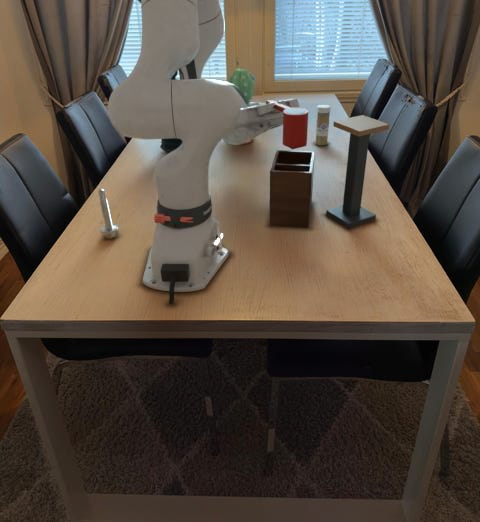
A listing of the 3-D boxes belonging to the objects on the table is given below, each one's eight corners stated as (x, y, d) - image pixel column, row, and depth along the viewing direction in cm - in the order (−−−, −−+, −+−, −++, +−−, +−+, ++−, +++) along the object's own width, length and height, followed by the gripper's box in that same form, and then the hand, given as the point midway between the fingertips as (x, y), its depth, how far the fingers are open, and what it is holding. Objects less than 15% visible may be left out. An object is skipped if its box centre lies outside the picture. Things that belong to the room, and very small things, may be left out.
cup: (311, 146, 117) (313, 111, 112) (291, 151, 115) (292, 116, 110) (277, 130, 128) (278, 97, 123) (259, 134, 125) (258, 101, 121)
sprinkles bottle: (318, 146, 168) (320, 108, 161) (312, 142, 172) (315, 104, 164) (329, 144, 169) (332, 106, 162) (324, 140, 173) (327, 103, 165)
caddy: (308, 228, 119) (312, 173, 111) (269, 225, 121) (269, 171, 113) (311, 203, 131) (314, 151, 123) (275, 201, 133) (276, 150, 124)
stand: (375, 219, 122) (389, 124, 108) (348, 229, 118) (359, 131, 105) (352, 206, 129) (362, 114, 115) (325, 215, 125) (333, 121, 111)
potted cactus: (267, 143, 172) (268, 71, 159) (228, 149, 168) (225, 76, 154) (251, 131, 185) (250, 63, 171) (214, 136, 180) (209, 67, 166)
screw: (97, 237, 119) (112, 229, 122) (109, 243, 116) (124, 235, 119) (86, 189, 112) (103, 183, 115) (98, 195, 109) (115, 187, 112)
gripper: (217, 115, 127) (238, 98, 114) (280, 102, 135) (306, 86, 123) (223, 138, 128) (245, 124, 115) (286, 124, 136) (313, 110, 123)
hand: (277, 104), depth 119 cm, fingers closed on cup
